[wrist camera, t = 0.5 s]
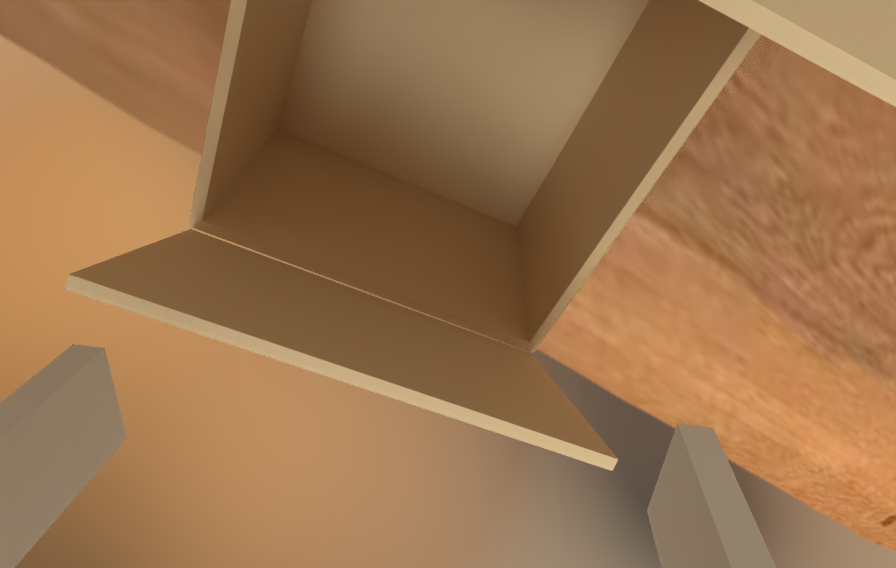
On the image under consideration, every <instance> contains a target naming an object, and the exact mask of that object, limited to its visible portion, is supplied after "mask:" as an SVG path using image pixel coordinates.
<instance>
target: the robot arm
mask: <svg viewBox="0 0 896 568" xmlns="http://www.w3.org/2000/svg"><path fill="white" fill-rule="evenodd" d="M126 438H127V437H126V434H125V429H124V425H123V422H122V417H121V413H120V409H119V405H118V401H117V397H116V393H115V389H114V384H113V381H112V376H111V373H110V369H109V364H108V360H107V356H106V352H105V349H104V348H97V347H90V346H82V345H74V344H73V345H72V346H70V347H69V348H68V349H67V350H66V351H64V352H63V353H62V354H61V355H59V356H58V357H57V358H56V359H54V360H53V361H52V362H51V363H50V364H48V365H47V366H46V367H44V368H43V369H42V370H41V371H39V372H38V373H37V374H36V375H34V376H33V377H32V378H31V379H29V380H28V381H27V382H26V383H24V384H23V385H22V386H21V387H19V388H18V389H17V390H16V391H14V392H13V393H12V394H11V395H9V396H8V397H7V398H6V399H5V400H3V401H2V402H1V403H0V568H14V567H15V566H16V565H17V564H18V563H19V562H20V560H21V559H22V558H23V557H24V556H25V555H26V554H27V552H28V551H29V550H30V549H31V548H32V547H33V545H34V544H35V543H36V542H37V541H38V540H39V538H40V537H41V536H42V535H43V534H44V533H45V532H46V530H47V529H48V528H49V527H50V526H51V525H52V523H53V522H54V521H55V520H56V519H57V518H58V517H59V515H60V514H61V513H62V512H63V511H64V510H65V508H66V507H67V506H68V505H69V504H70V503H71V502H72V500H73V499H74V498H75V497H76V496H77V495H78V494H79V492H80V491H81V490H82V489H83V488H84V486H85V485H86V484H87V483H88V482H89V481H90V480H91V478H92V477H93V476H94V475H95V474H96V473H97V472H98V470H99V469H100V468H101V467H102V466H103V465H104V464H105V462H106V461H107V460H108V459H109V458H110V457H111V455H112V454H113V453H114V452H115V451H116V450H117V449H118V447H119V446H120V445H121V444H122V443H123V442H124V440H125V439H126ZM647 512H648V516H649V520H650V524H651V528H652V532H653V536H654V540H655V544H656V548H657V552H658V556H659V560H660V564H661V568H776V567H775V564H774V562H773V560H772V558H771V555H770V553H769V551H768V549H767V547H766V544H765V542H764V540H763V538H762V536H761V533H760V531H759V529H758V527H757V524H756V522H755V520H754V518H753V515H752V513H751V511H750V509H749V507H748V504H747V502H746V500H745V498H744V495H743V493H742V491H741V489H740V487H739V485H738V482H737V480H736V478H735V476H734V473H733V471H732V469H731V467H730V464H729V462H728V460H727V458H726V455H725V453H724V451H723V449H722V446H721V444H720V442H719V440H718V438H717V435H716V433H715V431H714V429H713V428H709V427H702V426H694V425H686V424H679V423H678V424H677V427H676V429H675V432H674V435H673V438H672V441H671V444H670V447H669V449H668V452H667V455H666V458H665V461H664V464H663V467H662V469H661V473H660V475H659V478H658V481H657V484H656V487H655V490H654V492H653V495H652V498H651V501H650V504H649V507H648V510H647Z"/></svg>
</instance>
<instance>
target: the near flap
mask: <svg viewBox="0 0 896 568" xmlns="http://www.w3.org/2000/svg"><path fill="white" fill-rule="evenodd" d="M699 1H701V2H702V3H704V4H706V5H708V6H710V7H712V8H713V9H715V10H717V11H719V12H721V13H723V14H725V15H726V16H728V17H730V18H732V19H734V20H736V21H737V22H739V23H741V24H743V25H745V26H747V27H749V28H750V29H752V30H754V31H756V32H758V33H760V34H762V35H763V36H765V37H767V38H769V39H771V40H773V41H774V42H776V43H778V44H780V45H782V46H784V47H786V48H787V49H789V50H791V51H793V52H795V53H797V54H798V55H800V56H802V57H804V58H806V59H808V60H810V61H811V62H813V63H815V64H817V65H819V66H821V67H822V68H824V69H826V70H828V71H830V72H832V73H834V74H835V75H837V76H839V77H841V78H843V79H845V80H847V81H848V82H850V83H852V84H854V85H856V86H858V87H859V88H861V89H863V90H865V91H867V92H869V93H871V94H872V95H874V96H876V97H878V98H880V99H882V100H883V101H885V102H887V103H889V104H891V105H893V106H895V107H896V0H699Z"/></svg>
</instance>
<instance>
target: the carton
mask: <svg viewBox="0 0 896 568" xmlns="http://www.w3.org/2000/svg"><path fill="white" fill-rule="evenodd" d="M760 35H761V34H760V33H758V32H756V31H754V30H752V29H750V28H749V27H747V26H745V25H743V24H741V23H739V22H737V21H736V20H734V19H732V18H730V17H728V16H726V15H725V14H723V13H721V12H719V11H717V10H715V9H713V8H712V7H710V6H708V5H706V4H704V3H702V2H701V1H699V0H231V4H230V9H229V15H228V20H227V25H226V30H225V36H224V41H223V46H222V51H221V57H220V62H219V67H218V72H217V78H216V83H215V88H214V93H213V99H212V104H211V109H210V114H209V120H208V125H207V130H206V135H205V141H204V146H203V151H202V156H201V162H200V167H199V172H198V178H197V183H196V188H195V193H194V199H193V204H192V209H191V215H190V220H189V226H190V227H193V228H196V229H198V230H201V231H204V232H207V233H209V234H212V235H215V236H217V237H220V238H223V239H226V240H228V241H231V242H234V243H237V244H239V245H242V246H245V247H247V248H250V249H253V250H255V251H258V252H261V253H264V254H266V255H269V256H272V257H274V258H277V259H280V260H283V261H285V262H288V263H291V264H294V265H297V266H299V267H302V268H304V269H307V270H310V271H313V272H315V273H318V274H321V275H324V276H326V277H329V278H332V279H334V280H337V281H340V282H343V283H345V284H348V285H351V286H353V287H356V288H359V289H362V290H364V291H367V292H370V293H373V294H375V295H378V296H381V297H383V298H386V299H389V300H392V301H394V302H397V303H400V304H402V305H405V306H408V307H411V308H413V309H416V310H419V311H421V312H424V313H427V314H430V315H432V316H435V317H438V318H441V319H443V320H446V321H449V322H451V323H454V324H457V325H459V326H462V327H465V328H468V329H470V330H473V331H476V332H479V333H481V334H484V335H487V336H489V337H492V338H495V339H498V340H500V341H503V342H506V343H508V344H511V345H514V346H517V347H519V348H522V349H525V350H527V351H530V352H533V353H534V352H535V350H536V349H537V348H538V346H539V345H540V343H541V342H542V341H543V339H544V338H545V336H546V335H547V334H548V332H549V331H550V329H551V328H552V327H553V325H554V324H555V322H556V321H557V320H558V318H559V317H560V315H561V314H562V313H563V311H564V310H565V308H566V307H567V306H568V304H569V303H570V301H571V300H572V299H573V297H574V296H575V294H576V293H577V292H578V290H579V289H580V287H581V286H582V285H583V283H584V282H585V280H586V279H587V278H588V276H589V275H590V273H591V272H592V271H593V269H594V268H595V266H596V265H597V264H598V262H599V261H600V259H601V258H602V257H603V255H604V254H605V252H606V251H607V250H608V248H609V247H610V245H611V244H612V243H613V241H614V240H615V238H616V237H617V236H618V234H619V233H620V231H621V230H622V229H623V227H624V226H625V224H626V223H627V222H628V220H629V219H630V217H631V216H632V215H633V213H634V212H635V210H636V209H637V208H638V206H639V205H640V203H641V202H642V201H643V199H644V198H645V196H646V195H647V194H648V192H649V191H650V189H651V188H652V187H653V185H654V184H655V182H656V181H657V180H658V178H659V177H660V175H661V174H662V173H663V171H664V170H665V168H666V167H667V166H668V164H669V163H670V161H671V160H672V159H673V157H674V156H675V154H676V153H677V152H678V150H679V149H680V147H681V146H682V145H683V143H684V142H685V140H686V139H687V138H688V136H689V135H690V133H691V132H692V131H693V129H694V128H695V126H696V125H697V124H698V122H699V121H700V119H701V118H702V117H703V115H704V114H705V112H706V111H707V110H708V108H709V107H710V105H711V104H712V103H713V101H714V100H715V98H716V97H717V96H718V94H719V93H720V91H721V90H722V89H723V87H724V86H725V84H726V83H727V82H728V80H729V79H730V77H731V76H732V75H733V73H734V72H735V70H736V69H737V68H738V66H739V65H740V63H741V62H742V61H743V59H744V58H745V56H746V55H747V54H748V52H749V51H750V49H751V48H752V47H753V45H754V44H755V42H756V41H757V40H758V38H759V37H760Z"/></svg>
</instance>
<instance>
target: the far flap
mask: <svg viewBox="0 0 896 568" xmlns="http://www.w3.org/2000/svg"><path fill="white" fill-rule="evenodd" d="M64 289H65V290H68V291H71V292H74V293H77V294H80V295H83V296H86V297H89V298H92V299H96V300H98V301H101V302H104V303H107V304H110V305H113V306H116V307H119V308H122V309H125V310H128V311H131V312H134V313H137V314H140V315H143V316H146V317H149V318H152V319H156V320H159V321H161V322H165V323H167V324H171V325H173V326H177V327H180V328H183V329H186V330H189V331H192V332H195V333H198V334H201V335H204V336H207V337H210V338H213V339H216V340H219V341H222V342H225V343H228V344H231V345H234V346H237V347H240V348H243V349H246V350H249V351H252V352H255V353H258V354H261V355H264V356H267V357H270V358H273V359H276V360H279V361H282V362H285V363H288V364H291V365H294V366H297V367H300V368H303V369H306V370H310V371H312V372H315V373H319V374H321V375H324V376H327V377H331V378H334V379H337V380H340V381H343V382H346V383H349V384H352V385H355V386H358V387H361V388H364V389H367V390H370V391H373V392H376V393H379V394H382V395H385V396H388V397H391V398H394V399H397V400H400V401H403V402H406V403H409V404H412V405H415V406H418V407H421V408H424V409H427V410H430V411H433V412H436V413H439V414H442V415H445V416H448V417H451V418H454V419H457V420H460V421H463V422H466V423H469V424H472V425H475V426H478V427H482V428H484V429H487V430H490V431H493V432H496V433H499V434H502V435H506V436H508V437H512V438H514V439H518V440H521V441H524V442H527V443H530V444H533V445H536V446H539V447H542V448H545V449H548V450H551V451H554V452H557V453H560V454H563V455H566V456H569V457H572V458H575V459H578V460H581V461H584V462H587V463H590V464H593V465H596V466H599V467H602V468H605V469H608V470H611V471H613V469H614V467H615V465H616V463H617V461H618V459H617V458H616V456H615V455H614V454H613V453H612V451H611V450H610V449H609V448H608V447H607V445H606V444H605V443H604V442H603V440H602V439H601V438H600V437H599V436H598V435H597V433H596V432H595V431H594V430H593V428H592V427H591V426H590V425H589V424H588V422H587V421H586V420H585V419H584V418H583V416H582V415H581V414H580V413H579V412H578V410H577V409H576V408H575V407H574V406H573V404H572V403H571V402H570V401H569V399H568V398H567V397H566V396H565V395H564V393H563V392H562V391H561V390H560V389H559V387H558V386H557V385H556V384H555V383H554V381H553V380H552V379H551V378H550V376H549V375H548V374H547V373H546V372H545V370H544V369H543V368H542V367H541V365H540V364H539V363H538V362H537V361H536V360H535V358H534V357H533V356H532V355H531V354H530V353H527V352H524V351H521V350H519V349H516V348H513V347H510V346H508V345H505V344H502V343H500V342H497V341H494V340H491V339H489V338H486V337H483V336H480V335H478V334H475V333H472V332H469V331H467V330H464V329H461V328H459V327H456V326H453V325H451V324H448V323H445V322H442V321H440V320H437V319H434V318H431V317H428V316H426V315H423V314H420V313H418V312H415V311H412V310H410V309H407V308H404V307H401V306H399V305H396V304H393V303H390V302H388V301H385V300H382V299H380V298H377V297H374V296H371V295H368V294H366V293H363V292H361V291H358V290H355V289H352V288H350V287H347V286H344V285H341V284H339V283H336V282H333V281H331V280H328V279H325V278H322V277H320V276H317V275H314V274H311V273H308V272H306V271H303V270H300V269H298V268H295V267H292V266H289V265H287V264H284V263H281V262H279V261H276V260H273V259H270V258H268V257H265V256H262V255H260V254H257V253H254V252H251V251H249V250H246V249H243V248H241V247H238V246H235V245H232V244H229V243H227V242H224V241H221V240H219V239H216V238H213V237H210V236H208V235H205V234H202V233H200V232H197V231H194V230H191V229H190V230H187V231H184V232H182V233H179V234H176V235H174V236H171V237H168V238H166V239H163V240H160V241H158V242H155V243H152V244H150V245H147V246H144V247H141V248H139V249H136V250H133V251H131V252H128V253H125V254H123V255H120V256H117V257H114V258H112V259H109V260H106V261H104V262H101V263H98V264H95V265H93V266H90V267H88V268H85V269H82V270H79V271H77V272H74V273H71V274H69V276H68V279H67V282H66V285H65V288H64Z"/></svg>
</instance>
